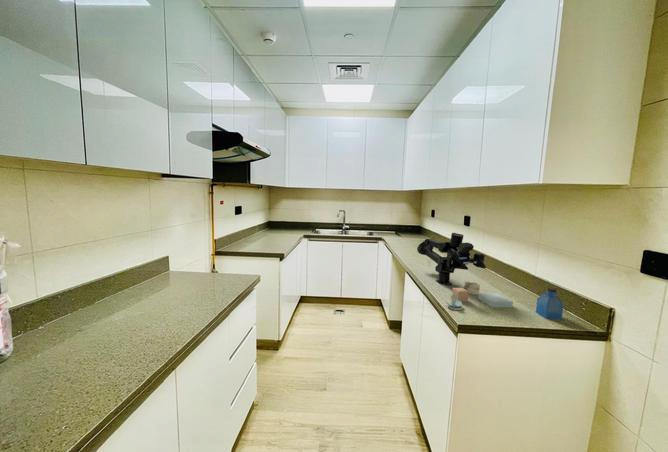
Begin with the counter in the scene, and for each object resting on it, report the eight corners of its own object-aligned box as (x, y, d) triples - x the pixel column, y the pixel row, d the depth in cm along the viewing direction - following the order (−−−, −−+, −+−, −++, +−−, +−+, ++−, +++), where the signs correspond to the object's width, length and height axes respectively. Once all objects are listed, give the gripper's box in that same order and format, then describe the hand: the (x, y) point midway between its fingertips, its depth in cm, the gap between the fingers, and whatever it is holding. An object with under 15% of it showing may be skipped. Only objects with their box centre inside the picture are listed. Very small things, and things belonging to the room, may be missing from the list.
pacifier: (466, 310, 116) (456, 304, 122) (468, 296, 115) (457, 291, 121) (452, 311, 114) (443, 305, 119) (454, 298, 113) (444, 292, 118)
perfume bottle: (550, 313, 115) (554, 286, 114) (561, 319, 109) (565, 291, 108) (535, 312, 116) (539, 285, 115) (545, 318, 110) (549, 290, 108)
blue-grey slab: (477, 299, 129) (478, 293, 129) (496, 299, 130) (497, 293, 130) (491, 308, 119) (492, 301, 119) (512, 307, 121) (513, 301, 120)
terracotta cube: (451, 297, 129) (452, 287, 129) (461, 297, 130) (462, 287, 129) (457, 301, 124) (458, 291, 124) (467, 301, 125) (468, 291, 124)
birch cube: (463, 290, 140) (464, 281, 139) (472, 290, 140) (473, 281, 139) (469, 294, 135) (470, 284, 134) (478, 294, 135) (479, 284, 135)
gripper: (442, 241, 136) (461, 253, 121) (475, 239, 138) (497, 251, 124) (439, 261, 139) (457, 275, 124) (472, 259, 142) (493, 272, 127)
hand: (476, 268), depth 125 cm, fingers open, 9 cm apart
